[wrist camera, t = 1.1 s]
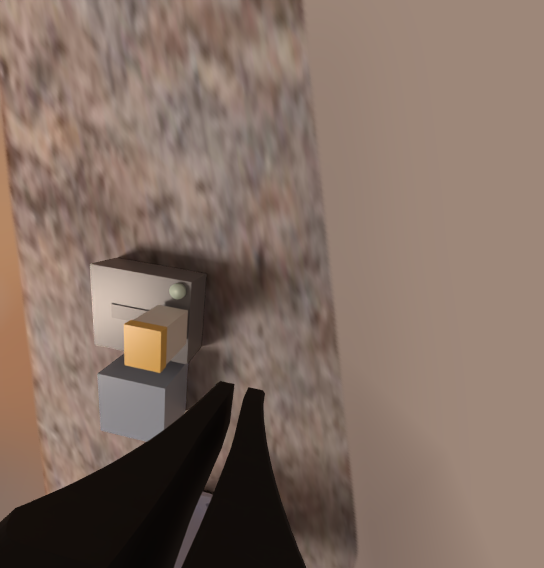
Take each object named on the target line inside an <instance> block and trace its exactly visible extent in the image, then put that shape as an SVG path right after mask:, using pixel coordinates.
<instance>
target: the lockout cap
mask: <svg viewBox="0 0 544 568" xmlns="http://www.w3.org/2000/svg"><path fill="white" fill-rule="evenodd" d="M187 375H188V364H182V363H178V362H173V361H169V362H168V363H167V364H166V367H165V368H164V369H163V371H162V372H161V373H158V372H153V371H149V370H144V369H140V368H135V367H131V366H126V365H124V354H123V355H122V356H120V357H119V358H118V359H116V360H115V361H114V362H112V363H111V364H110V365H108V366H107V367H106V368H104V369H103V370H102V371H100V372H99V373H98V391H99V408H100V425H101V431H105V432H109V433H113V434H117V435H121V436H125V437H129V438H133V439H138V440H142V441H146V442H147V441H148V440H150V439H151V438H153V437H154V436H156V435H157V434H159V433H160V432H161V431H163V430H164V429H166V428H167V427H168V426H169V425H171V424H172V423H173V422H175V421H176V420H177V419H178V418H180V417H181V416H182V415H183V414H184V412H185V410H186V392H187Z"/></svg>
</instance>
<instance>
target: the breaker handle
mask: <svg viewBox="0 0 544 568" xmlns="http://www.w3.org/2000/svg"><path fill="white" fill-rule="evenodd" d="M187 319H188V310H183V309H178V308H173V307H168V306H163V305H157V306H156V307H154V308H152V309H151V310H149V311H147V312H146V313H144V314H142V315H141V316H139V317H137V318H136V319H134V320H130V321H128V322H126V323H125V324H124V365H126V366H131V367H135V368H140V369H144V370H149V371H153V372H158V373H161V372H162V371H163V369H164V368H165V367H166V364H167V363H168V362H169V361H170V360H171V359H172V358H173V357H174V356H175V355H176V354H177V353H178V352H179V351H180V350H181V349H182V348H183V346H184V345H185V344H186V338H187Z"/></svg>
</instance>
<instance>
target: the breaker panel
mask: <svg viewBox="0 0 544 568" xmlns="http://www.w3.org/2000/svg"><path fill="white" fill-rule="evenodd" d="M90 275H91V292H92V309H93V326H94V343H95V345H98V346H102V347H107V348H112V349H117V350H121V351H124V324H125V323H126V322H128V321H130V320H134V319H136V318H137V317H139V316H141V315H142V314H144V313H146V312H147V311H149V310H151V309H152V308H154V307H156V306H157V305H163V306H168V307H173V308H178V309H183V310H188V319H187V338H186V344H185V345H184V346H183V348H182V349H181V350H180V351H179V352H178V353H177V354H176V355H175V356H174V357H173V358H172V359H171V360H170V361H173V362H178V363H182V364H188V363H189V361H190V360H191V359H192V358H193V356H194V355H195V354H196V353H197V351H198V350H199V349H200V348H201V344H202V330H203V317H204V303H205V289H206V275H207V273H201V272H195V271H190V270H184V269H178V268H173V267H167V266H161V265H156V264H150V263H144V262H139V261H133V260H127V259H122V258H113V259H109V260H105V261H100V262H96V263H92V264H90Z"/></svg>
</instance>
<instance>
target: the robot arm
mask: <svg viewBox="0 0 544 568" xmlns="http://www.w3.org/2000/svg"><path fill="white" fill-rule="evenodd" d="M233 391H234V384H231V383H226V382H222V381H220V382H219V383H217V384H216V385H215V386H214V387H213V388H212V389H211V390H210V391H209V392H208V393H207V394H206V395H205V396H204V397H203V398H202V399H201V400H200V401H198V402H197V403H196V404H195V405H194V406H193V407H192V408H190V409H189V410H188V411H187V412H186V413H185V414H183V415H182V416H181V417H180V418H178V419H177V420H176V421H175V422H173V423H172V424H171V425H169V426H168V427H167V428H166V429H164V430H163V431H161V432H160V433H159V434H157V435H156V436H154V437H153V438H151V439H150V440H148V441H147V442H145V443H144V444H142V445H141V446H139V447H138V448H136V449H135V450H133V451H131V452H130V453H128V454H126V455H125V456H123V457H121V458H120V459H118V460H116V461H115V462H113V463H111V464H109V465H107V466H106V467H104V468H102V469H100V470H98V471H96V472H94V473H92V474H90V475H88V476H86V477H84V478H82V479H80V480H78V481H76V482H74V483H72V484H70V485H68V486H66V487H64V488H62V489H59V490H57V491H55V492H52V493H50V494H48V495H45V496H43V497H41V498H39V499H36V500H34V501H32V502H30V503H27V504H25V505H22V506H20V507H17V508H15V509H14V510H13V511H12V512H11V513H10V514H9V515H8V516H7V517H5V518H4V519H3V520H2V521H1V522H0V568H306V566H305V563H304V561H303V559H302V556H301V554H300V551H299V549H298V546H297V544H296V541H295V538H294V536H293V533H292V531H291V528H290V525H289V522H288V519H287V516H286V513H285V510H284V508H283V505H282V502H281V499H280V495H279V492H278V488H277V485H276V481H275V478H274V474H273V470H272V466H271V461H270V457H269V451H268V446H267V440H266V433H265V425H264V411H263V403H264V396H265V393H264V391H263V390H259V389H254V388H248V390H247V392H246V394H245V396H244V399H243V402H242V407H241V411H240V415H239V419H238V423H237V427H236V431H235V436H234V440H233V443H232V446H231V450H230V452H229V455H228V457H227V460H226V463H225V465H224V468H223V471H222V473H221V476H220V478H219V481H218V483H217V486H216V488H215V491H214V493H213V494H210V493H206V492H203V490H204V487H205V485H206V483H207V480H208V478H209V476H210V474H211V471H212V469H213V467H214V464H215V462H216V460H217V458H218V455H219V453H220V451H221V448H222V445H223V442H224V439H225V436H226V433H227V430H228V427H229V424H230V417H231V408H232V400H233Z"/></svg>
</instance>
